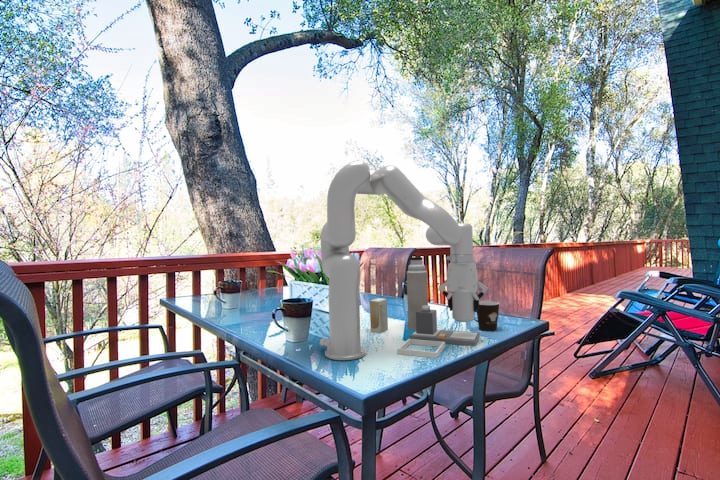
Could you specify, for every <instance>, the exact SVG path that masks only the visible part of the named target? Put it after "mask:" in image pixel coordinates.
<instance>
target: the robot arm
mask: <svg viewBox="0 0 720 480" xmlns="http://www.w3.org/2000/svg"><path fill="white" fill-rule="evenodd" d="M358 194H359V195H369V196H371V195H372V196H374V195H376V196H377V195H378V196H379V195H386V196H387V197H388V199H389V198H390V200H391V201H392V202H393V203H394V204H395V205H396V206H397V207H398V208H399V210H400V211H401V212H402V213H403V214H405V215H406V216H409V217H410V218H413V219H416V220H419V221H422V222H423V223H425V224H426V225H427V226H428V227H427V229H426V232H425V239H426V240H427V242H429V244H431V245H434V246H437V247H438V246H441V247H442V246H444V247H445V246H450V249H449V250H450V254H449V255H447V256H446V261H450V262H449V263H448V264H447V274H446V281H445V282H444V283H442V284H441V285H439V286H438V290H439V291H440V292H441V293H442V295H443V296H445V297H446V299H447V307H448V309H449V311H450V312H452V293H454V291H455V290H457V289H459V288H457V287H465V288H464V289H465V290H467V291H469V293H473V296H474V298H475V300H474V312H475V313H477V309H479V302H480V299H481V298H482V297H483V296H484V295H485V294H486V293H487V291H488V289H489V287H488V286H487V285H485V284H483V283H482V282H481V281H479V275H478V274H479V273H478V270H477V265H476V263H475V262H474V239H473V237H474V236H473V225H472V224H471V223H468V222H467V223H466V222H465V223H458V221H456V220H455V219H454V218H453V217H452V215H451V214H450V213H449V212H448V211H447V210H446V209H444V208H443V207H442V206H441V205H439V204H437V203H435V202H434V201H433V200H431V199H429V198H428V197H426V196H425V195H424V194H422V192H421V191H419V189H418V188H417V187H416V186H415V185H414V184H413V183H412V181H411V180H410V179H409V178H408V177H407V176H406V175H405V174H404V173H403V171H401V170H400V168H398V167H397V166H395V165H384V166H382V167H380V168H379V169H370V167H369V165H368V164H367V163H366V162H365V161H362V160H353V161H351V162H349V163H347V164H345V165H344V166H342V168H340V170H338V171H337V173H336V174H335V175H334V177H333V178H332V180H331V182H330V184H329V188H328V190H327V196H326V198H327V199H326V211H327V212H326V222H325V223H324V225H323V226H322V228H321V231H320V252H321V255H320V256H321V257H320V258H321V268H322V272H323V273H324V275H325V276H326V278H328V279H329V281H328V319H329V320H328V322H329V323H328V325H329V338H328V339H327V338H320V341H319V346H320V347H325V348H326V350H325V351H324V355H325V357H326V358H327V359H329V360H334V361H351V360H358V359H361V358H363V357H364V356H366V354H367V353H366V352H367V350H366V348H365V347H363V346H362V345H361V317H360V316H361V313H360V309H361V308H360V307H361V306H360V283H361V265H360V262H359V260H358V259H357V258H356V257H355V256H354V255H352V254H351V253H350V246H351V245H353V244H354V242H355V240H356V237H357V235H356V234H357V232H356V217H355V213H356V212H355V208H356V207H355V202H356V197H357V195H358ZM445 287H446V289H445ZM479 288H481V289H482V290H481V291H480V292H479V293H478V290H479Z"/></svg>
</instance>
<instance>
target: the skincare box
mask: <svg viewBox="0 0 720 480" xmlns="http://www.w3.org/2000/svg"><path fill="white" fill-rule="evenodd" d="M369 311H370V312H369V318H370V322H369V323H370V332H372V333H376V334H380V333H381V334H382V333H383V332H385V331H387V330H389V326H388V325H389V323H388V322H389V320H388V319H389V318H388V299H387V298H381V297H380V298H379V297H377V298H374V299H371V300H369Z"/></svg>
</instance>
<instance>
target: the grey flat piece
mask: <svg viewBox="0 0 720 480" xmlns="http://www.w3.org/2000/svg"><path fill="white" fill-rule="evenodd" d="M480 338H481V332H475V331H462V330H461V331H460V330H449V329H437V331H436V332H435V333H434V334H433V335H430V334H418V333H416V330H414V332H413V333H411V334H410V335H409V339H417V340H429V341H440V342H445V345H446V344H447V345H456V346H457V345H458V346H459V345H460V346H470V347H476V346H477V344H478V342H479V340H480Z"/></svg>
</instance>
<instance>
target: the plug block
mask: <svg viewBox="0 0 720 480" xmlns="http://www.w3.org/2000/svg"><path fill="white" fill-rule="evenodd" d="M437 318H438V317H437V309H431V306H430V305H429V304H428V305H424V306H422V309H420V310H418V311H417V312H416V330H415V331H416V333H418V334H430V335H433V334H434V333H435V332H436V331H437V330H438V326H437V325H438V323H437V322H438V319H437Z"/></svg>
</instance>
